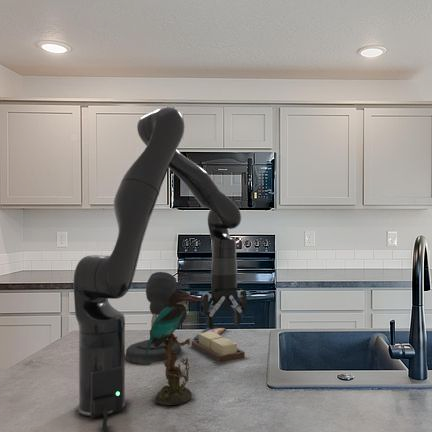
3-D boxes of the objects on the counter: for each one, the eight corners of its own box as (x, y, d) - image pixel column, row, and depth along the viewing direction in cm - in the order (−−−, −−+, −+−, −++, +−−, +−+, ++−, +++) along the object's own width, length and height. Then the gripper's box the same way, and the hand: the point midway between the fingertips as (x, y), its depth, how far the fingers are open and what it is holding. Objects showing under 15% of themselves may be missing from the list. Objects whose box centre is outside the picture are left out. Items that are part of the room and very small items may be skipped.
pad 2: (236, 357, 132) (236, 343, 132) (223, 360, 129) (223, 346, 129) (224, 350, 138) (224, 337, 138) (210, 353, 136) (210, 339, 136)
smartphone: (226, 328, 164) (214, 339, 149) (226, 330, 164) (214, 342, 149) (206, 327, 165) (192, 338, 150) (206, 329, 165) (192, 340, 150)
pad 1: (222, 349, 139) (222, 336, 139) (209, 352, 136) (209, 339, 136) (211, 343, 146) (211, 331, 146) (198, 345, 143) (198, 333, 143)
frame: (244, 358, 132) (244, 352, 132) (219, 364, 127) (219, 357, 127) (214, 343, 148) (214, 337, 148) (191, 347, 143) (191, 341, 143)
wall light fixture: (189, 270, 148) (173, 275, 128) (189, 346, 147) (172, 364, 127) (142, 270, 148) (118, 275, 128) (141, 346, 147) (117, 363, 127)
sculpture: (202, 407, 98) (202, 293, 98) (139, 406, 99) (139, 292, 99) (211, 392, 106) (211, 287, 106) (153, 391, 107) (153, 286, 107)
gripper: (207, 275, 126) (207, 333, 126) (251, 272, 135) (251, 326, 134) (196, 272, 132) (196, 328, 132) (239, 269, 141) (239, 321, 140)
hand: (224, 327), depth 133 cm, fingers open, 8 cm apart
